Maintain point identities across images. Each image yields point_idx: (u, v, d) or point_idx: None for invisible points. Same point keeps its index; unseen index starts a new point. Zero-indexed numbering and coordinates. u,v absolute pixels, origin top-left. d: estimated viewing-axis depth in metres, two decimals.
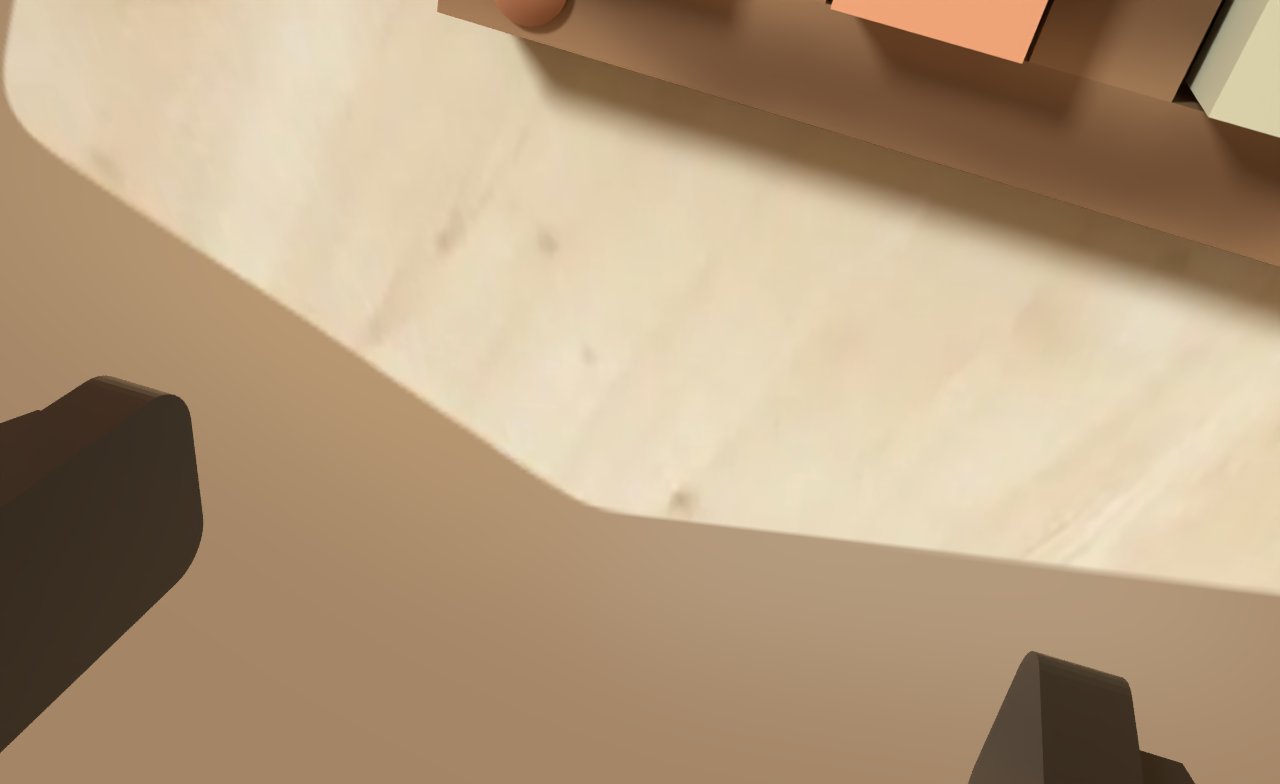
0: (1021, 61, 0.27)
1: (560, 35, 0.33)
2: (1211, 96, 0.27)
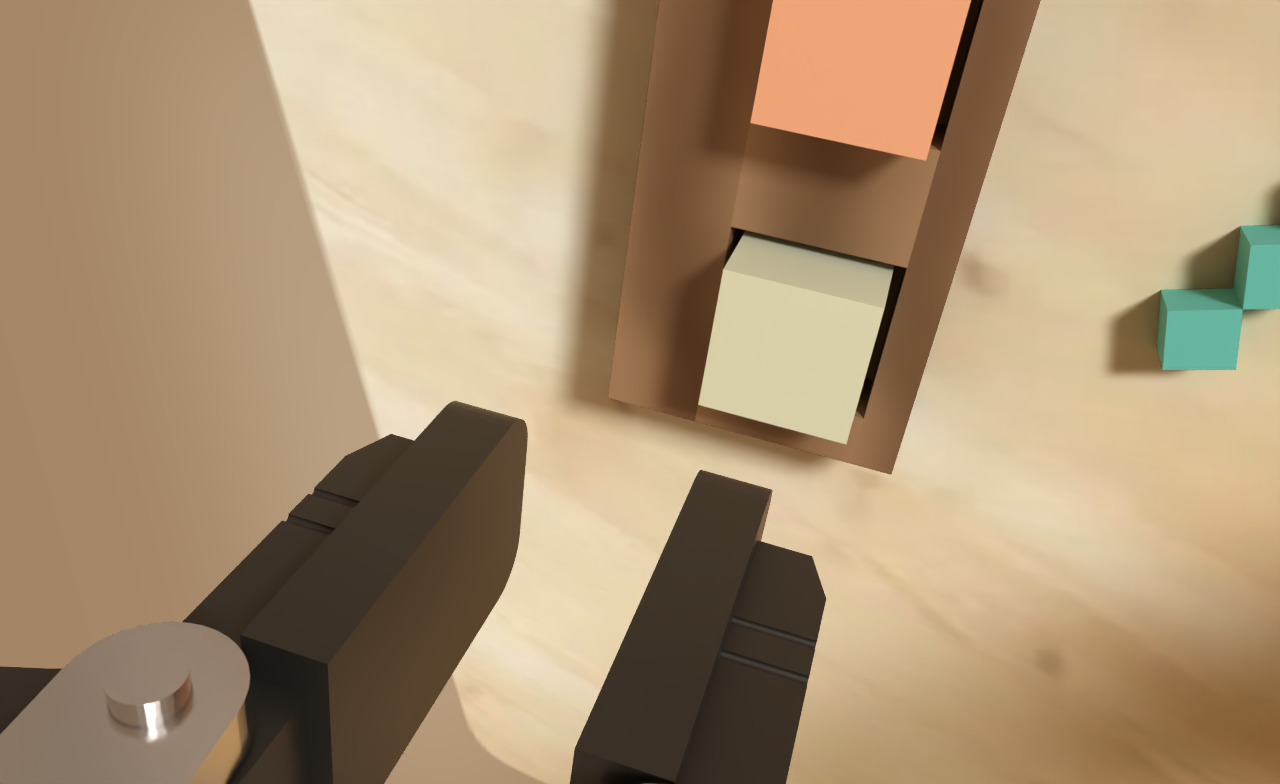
0: (752, 122, 0.31)
1: None
2: (739, 264, 0.34)
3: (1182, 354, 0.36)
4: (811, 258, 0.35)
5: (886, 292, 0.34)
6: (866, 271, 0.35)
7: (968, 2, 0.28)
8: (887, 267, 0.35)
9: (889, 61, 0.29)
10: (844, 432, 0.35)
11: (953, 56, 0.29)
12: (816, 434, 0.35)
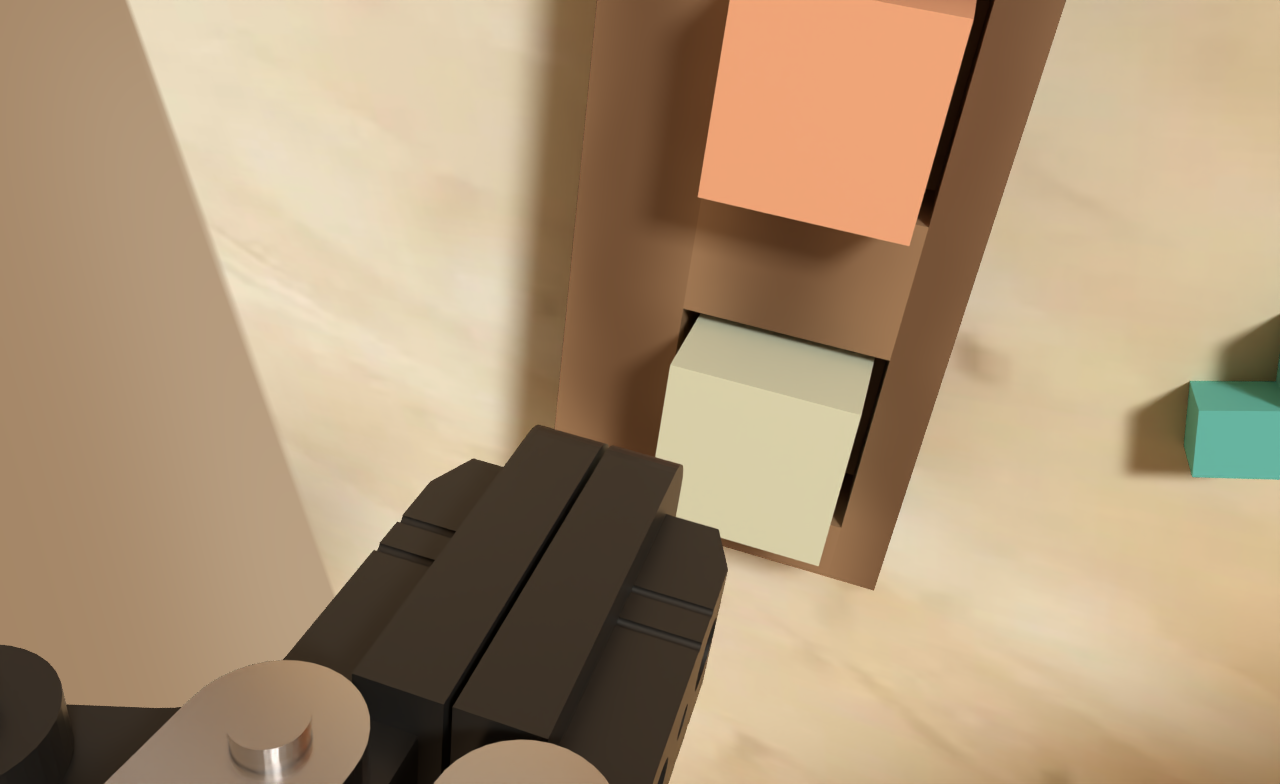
0: (699, 196, 0.26)
1: None
2: (689, 357, 0.29)
3: (1216, 460, 0.30)
4: (777, 347, 0.30)
5: (864, 392, 0.28)
6: (842, 363, 0.29)
7: (960, 58, 0.22)
8: (867, 356, 0.30)
9: (863, 128, 0.24)
10: (816, 552, 0.30)
11: (941, 123, 0.23)
12: (783, 553, 0.30)
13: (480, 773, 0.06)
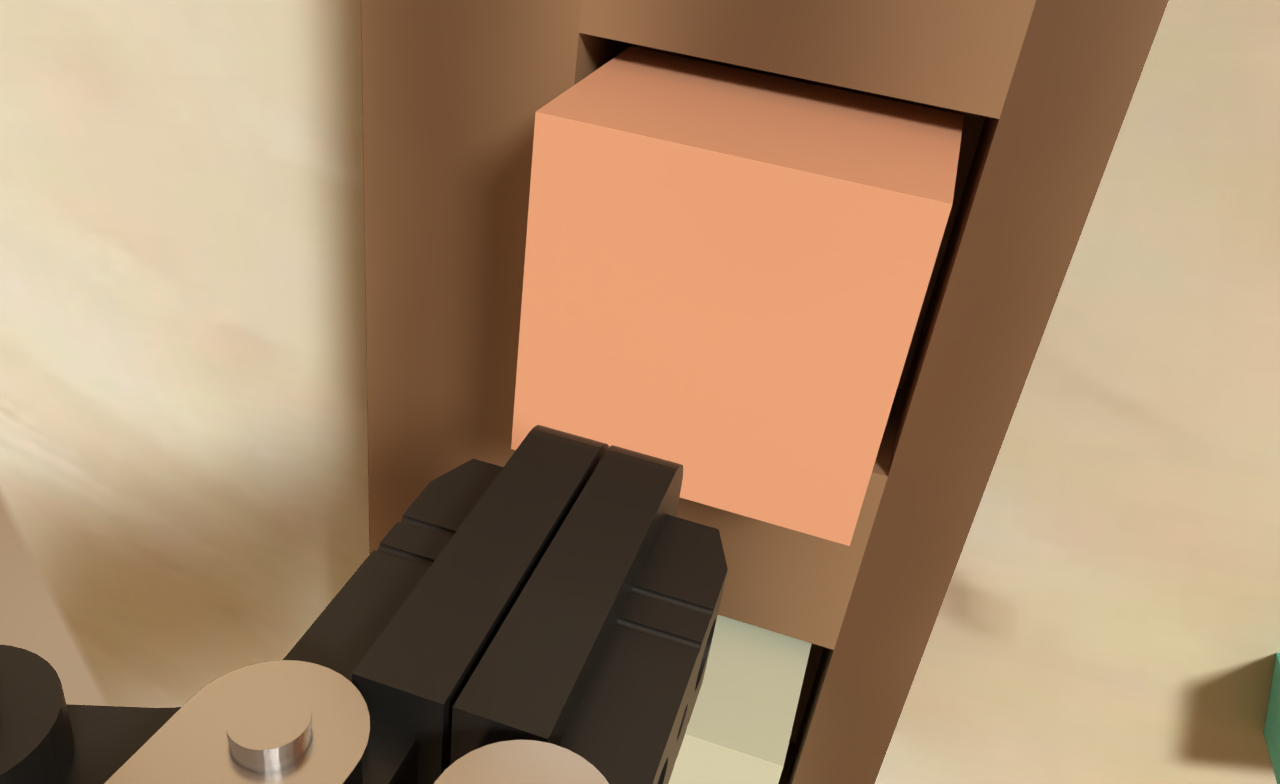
0: (514, 447, 0.16)
1: None
2: None
3: None
4: None
5: (792, 712, 0.18)
6: (763, 649, 0.20)
7: (929, 267, 0.13)
8: None
9: (767, 367, 0.14)
10: None
11: (899, 368, 0.13)
12: None
13: (480, 773, 0.06)
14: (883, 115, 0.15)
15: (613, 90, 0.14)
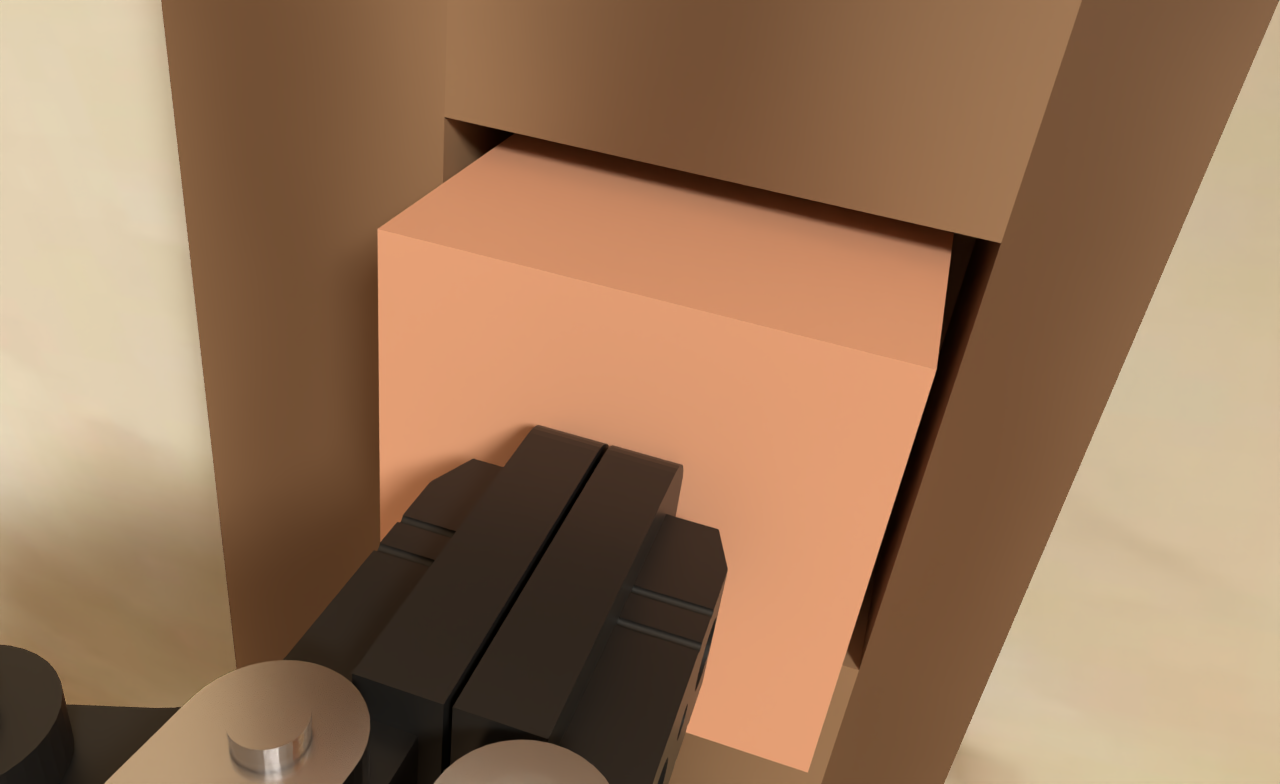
0: None
1: None
2: None
3: None
4: None
5: None
6: None
7: (905, 448, 0.09)
8: None
9: None
10: None
11: (867, 570, 0.10)
12: None
13: (480, 773, 0.06)
14: (851, 215, 0.12)
15: (496, 188, 0.11)
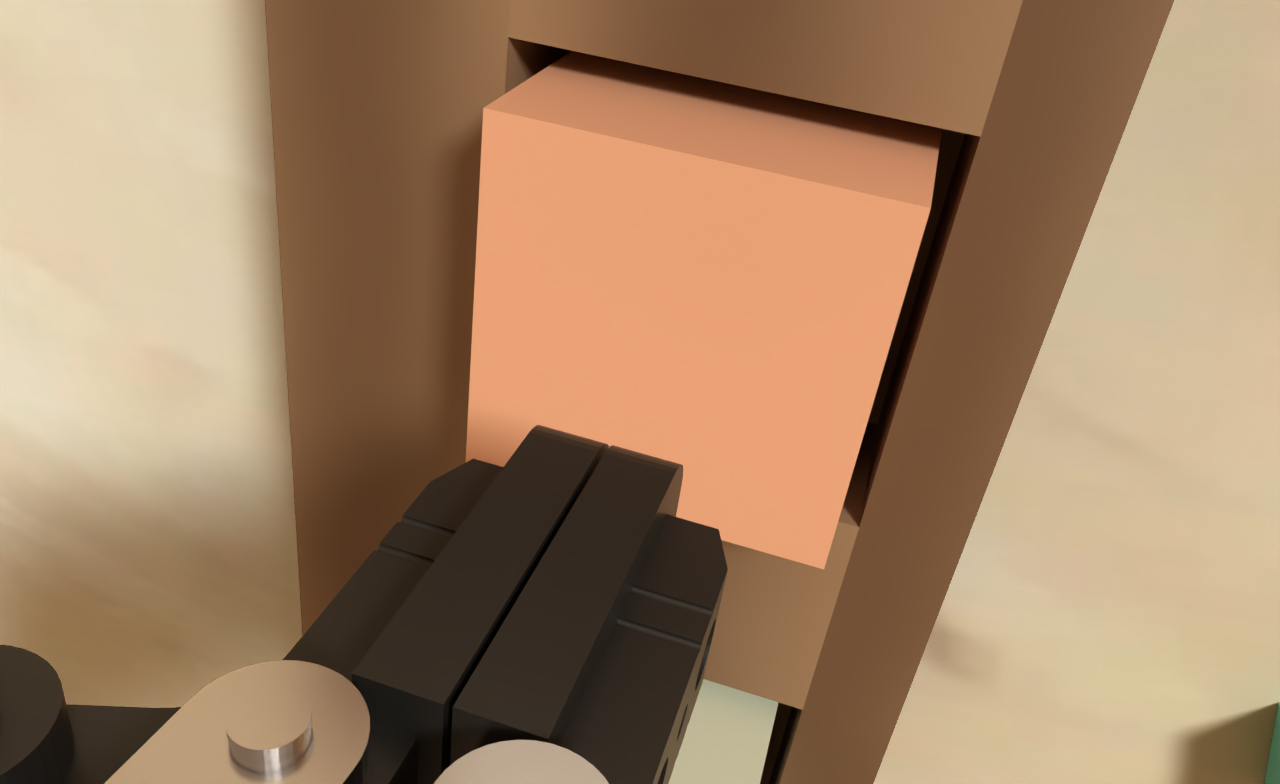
0: None
1: None
2: None
3: None
4: None
5: (756, 781, 0.17)
6: (725, 708, 0.18)
7: (906, 275, 0.12)
8: None
9: (734, 381, 0.13)
10: None
11: (874, 383, 0.12)
12: None
13: (481, 773, 0.06)
14: (858, 111, 0.14)
15: (569, 85, 0.13)
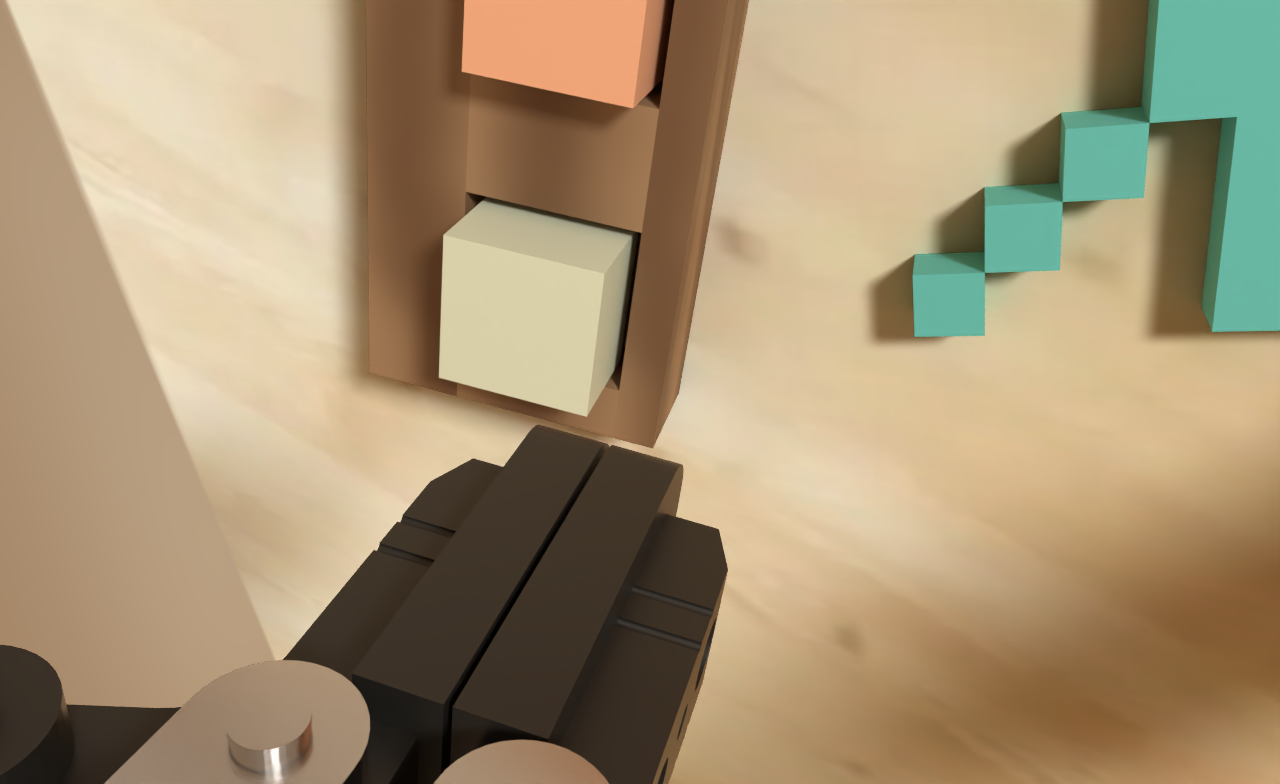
0: (463, 70, 0.30)
1: None
2: (463, 229, 0.33)
3: (931, 320, 0.35)
4: (547, 224, 0.34)
5: (614, 257, 0.32)
6: (601, 236, 0.34)
7: None
8: (627, 232, 0.34)
9: (585, 6, 0.29)
10: (583, 403, 0.34)
11: None
12: (556, 406, 0.34)
13: (480, 773, 0.06)
14: None
15: None
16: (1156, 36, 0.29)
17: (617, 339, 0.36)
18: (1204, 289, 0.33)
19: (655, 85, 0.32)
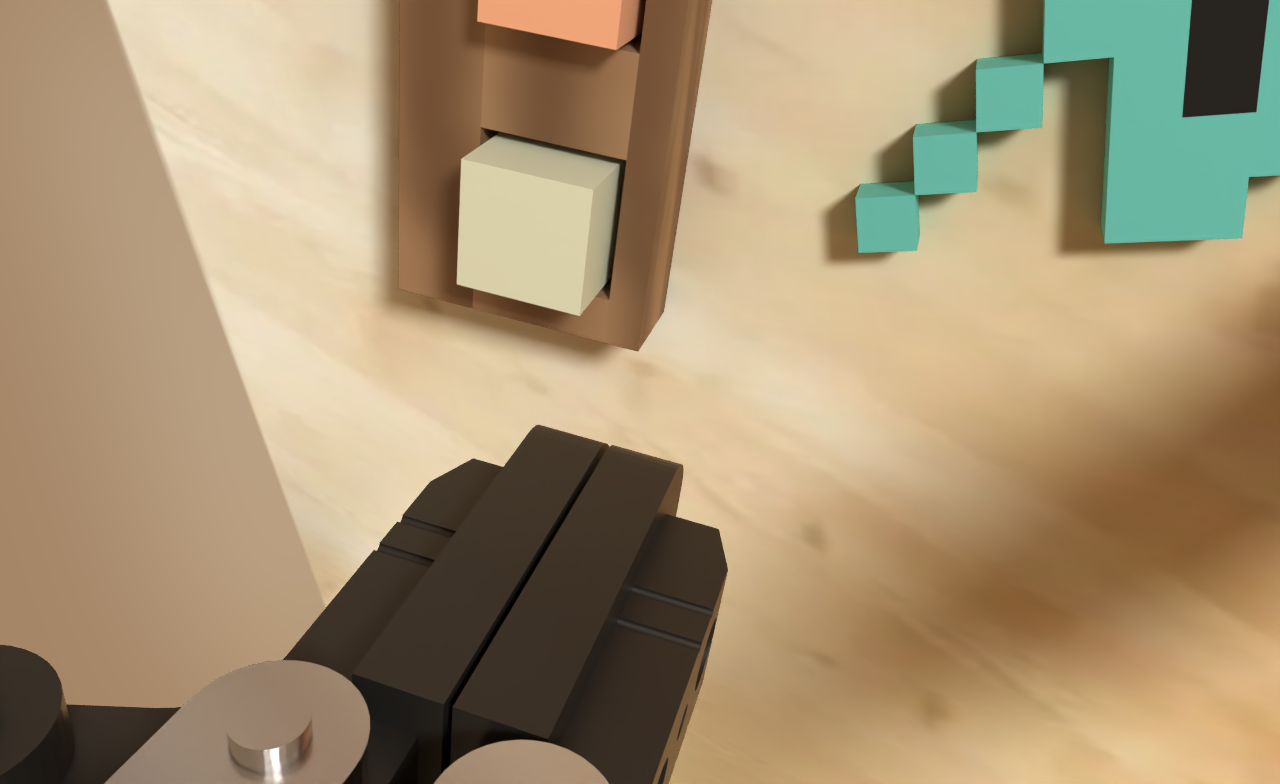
0: (478, 20, 0.37)
1: None
2: (477, 155, 0.39)
3: (872, 238, 0.41)
4: (548, 153, 0.41)
5: (602, 179, 0.39)
6: (593, 164, 0.40)
7: None
8: (615, 161, 0.41)
9: None
10: (577, 304, 0.40)
11: None
12: (554, 307, 0.41)
13: (480, 773, 0.06)
14: None
15: None
16: None
17: (607, 255, 0.43)
18: (1102, 210, 0.39)
19: (637, 35, 0.38)
